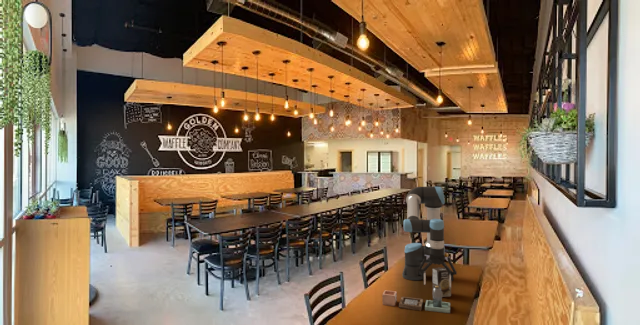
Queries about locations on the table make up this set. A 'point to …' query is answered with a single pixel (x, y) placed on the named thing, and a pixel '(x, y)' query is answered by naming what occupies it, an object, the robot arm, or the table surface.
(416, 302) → the pale grey square tile
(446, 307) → the tray
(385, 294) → the pink open box
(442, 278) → the coffee box
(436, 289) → the cell
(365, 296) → the table surface
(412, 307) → the base
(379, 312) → the table surface
